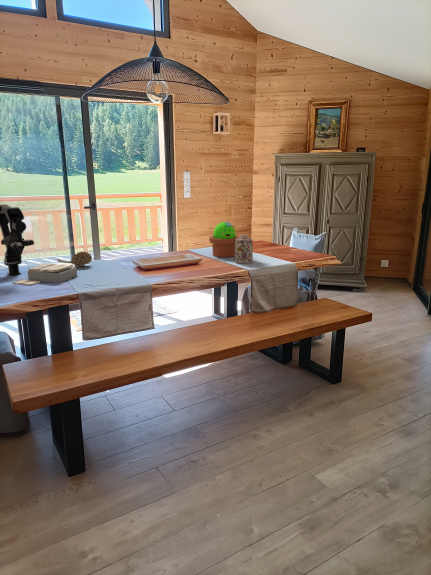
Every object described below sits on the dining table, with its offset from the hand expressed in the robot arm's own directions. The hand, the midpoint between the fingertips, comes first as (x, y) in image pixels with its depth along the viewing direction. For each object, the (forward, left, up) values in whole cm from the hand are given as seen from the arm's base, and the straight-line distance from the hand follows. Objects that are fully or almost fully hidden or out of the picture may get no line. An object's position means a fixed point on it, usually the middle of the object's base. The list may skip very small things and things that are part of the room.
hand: (19, 257), depth 238 cm
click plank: (+12, +16, -7) cm, 21 cm away
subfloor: (+10, +14, -13) cm, 22 cm away
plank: (+11, -1, -14) cm, 18 cm away
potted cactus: (+29, +134, -13) cm, 138 cm away
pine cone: (-9, +36, -13) cm, 39 cm away
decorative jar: (+54, +129, -13) cm, 140 cm away
